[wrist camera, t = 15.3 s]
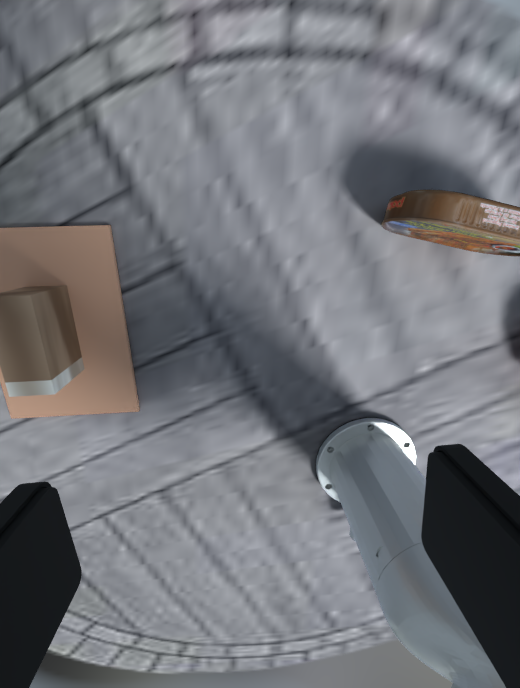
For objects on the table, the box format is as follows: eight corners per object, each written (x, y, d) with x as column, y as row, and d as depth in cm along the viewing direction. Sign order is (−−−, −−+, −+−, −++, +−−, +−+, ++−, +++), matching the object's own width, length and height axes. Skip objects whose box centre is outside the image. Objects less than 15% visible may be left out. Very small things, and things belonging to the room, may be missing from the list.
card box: (66, 285, 33) (30, 295, 27) (84, 369, 35) (55, 394, 30) (25, 286, 32) (-21, 297, 27) (46, 371, 35) (9, 396, 29)
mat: (139, 409, 38) (138, 411, 37) (14, 416, 37) (11, 418, 37) (110, 225, 32) (108, 225, 31) (-41, 229, 31) (-46, 229, 30)
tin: (366, 227, 33) (407, 223, 25) (376, 193, 32) (422, 179, 24) (498, 258, 35) (575, 263, 27) (510, 227, 34) (594, 224, 26)
